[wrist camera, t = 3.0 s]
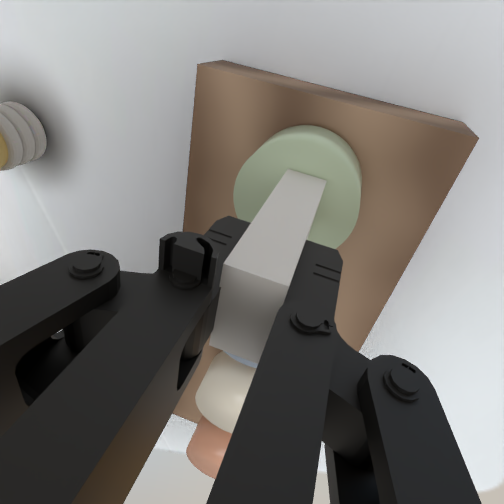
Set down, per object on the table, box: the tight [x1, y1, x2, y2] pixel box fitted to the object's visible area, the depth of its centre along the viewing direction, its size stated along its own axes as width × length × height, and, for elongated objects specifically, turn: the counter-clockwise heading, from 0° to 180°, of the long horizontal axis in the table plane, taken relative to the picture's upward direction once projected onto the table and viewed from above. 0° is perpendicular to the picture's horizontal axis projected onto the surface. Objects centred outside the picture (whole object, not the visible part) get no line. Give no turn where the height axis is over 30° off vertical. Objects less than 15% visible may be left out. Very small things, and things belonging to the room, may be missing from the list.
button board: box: [173, 60, 479, 424], centre depth 24 cm, size 12×28×3 cm, turn 168°
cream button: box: [195, 351, 256, 433], centre depth 22 cm, size 5×5×3 cm
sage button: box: [233, 125, 362, 249], centre depth 15 cm, size 5×5×3 cm
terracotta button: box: [186, 415, 232, 479], centre depth 26 cm, size 5×5×3 cm
